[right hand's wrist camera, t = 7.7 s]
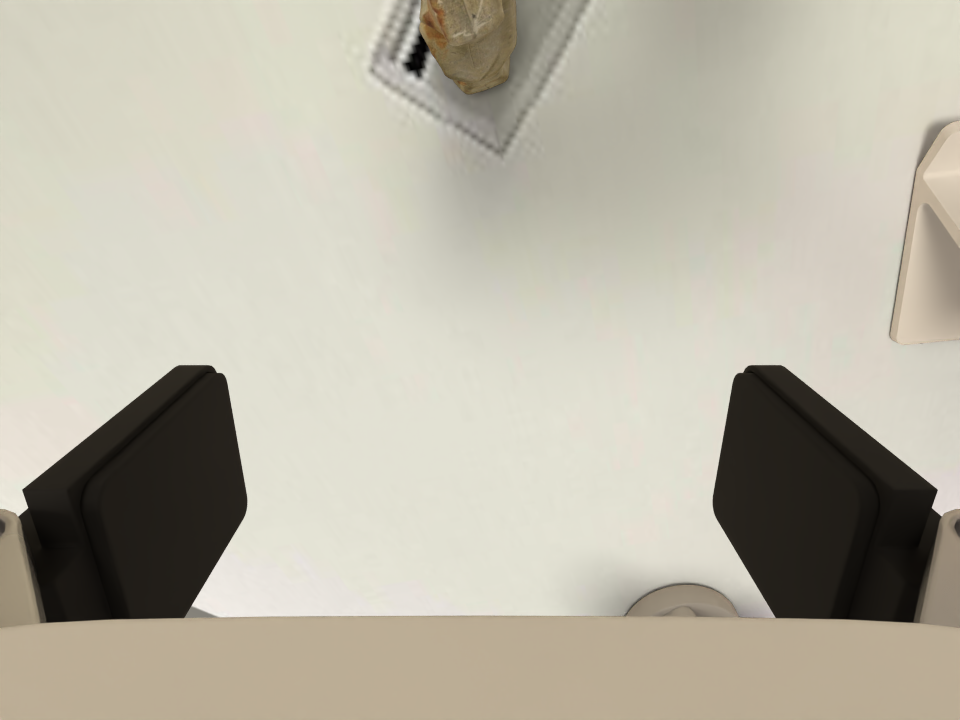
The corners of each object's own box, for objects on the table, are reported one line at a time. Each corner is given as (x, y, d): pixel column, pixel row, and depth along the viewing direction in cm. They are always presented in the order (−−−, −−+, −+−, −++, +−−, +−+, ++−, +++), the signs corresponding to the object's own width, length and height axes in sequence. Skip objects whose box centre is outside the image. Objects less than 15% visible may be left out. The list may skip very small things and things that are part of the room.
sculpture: (495, -29, 42) (503, -106, 28) (522, 79, 44) (541, 59, 30) (416, -2, 42) (385, -63, 28) (447, 104, 45) (433, 95, 31)
